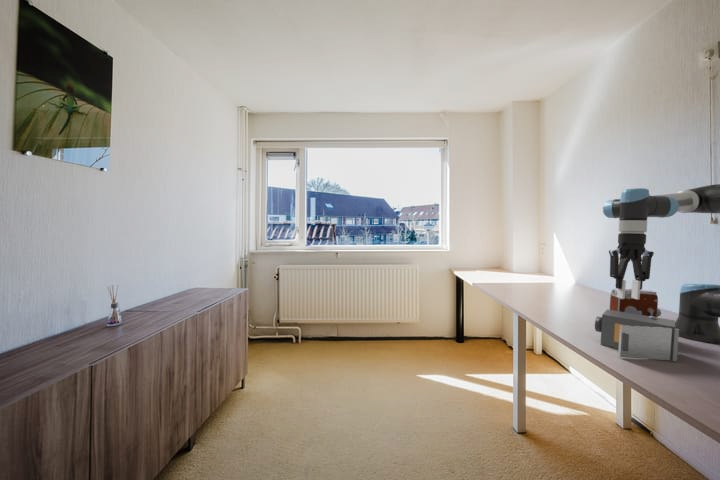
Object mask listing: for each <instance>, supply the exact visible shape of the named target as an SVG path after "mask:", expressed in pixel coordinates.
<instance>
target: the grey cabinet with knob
mask: <svg viewBox="0 0 720 480" xmlns="http://www.w3.org/2000/svg"><path fill="white" fill-rule="evenodd" d="M675 322H676V320H674V319H669V318H664V317H663V318H662V317H654V316H645V315H639V314H632V313H626V312H620V311H614V310H610V309H606V310H605V311H604V312H603V313H602V316H596V318H595V320H594V330H595V332H597V333H601V335H600V345H601V346H605V347H608V348H612V349H613V348H614V349H616V350H617V349H619V333H620V325H626V326H645V327H665V328H672V336H671V351H670V360H668V361H670V362H677V361H678V350H679V348H678V347H679V337H680V336H679V329H675Z"/></svg>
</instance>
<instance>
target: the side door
mask: <svg viewBox="0 0 720 480" xmlns="http://www.w3.org/2000/svg"><path fill="white" fill-rule="evenodd" d="M671 336H672V328H665V327H645V326H626V325H620V333H619V349H618V350H617V351H618V352H617V353H618V354H617V356H618V358H619V357H620V358H626V359H627V358H628V359H644V360H645V359H646V360H661V361H669V360H670V351H671Z"/></svg>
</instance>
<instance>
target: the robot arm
mask: <svg viewBox="0 0 720 480" xmlns="http://www.w3.org/2000/svg"><path fill="white" fill-rule="evenodd" d="M602 212H603V215H604V216H605V217H606V218H608V219H618V220H619V221H618V232H620V233H618V234H617V236H618V237H617V243H618V246H617V247H616V248H615V249H610V250H608V254H609V260H610V261H609V277H610V278H613V279H615V289H617V297H618V298H622V299H625V289H626V283H627V281H626V280H625V279H624V278H625V275H626V271H627V269H628V264H629V262H630V261H631V263H632V269H633V275H634V279H632V281H631V289H632V294H631V298H634V299H639V298H640V290H643V282H646V280H649V279H650V276H651V275H650V274H651V266H652V258H653V256H654V251H650V250H647V249H646V247H645V245H646V244H647V235H646V233H647V232H648V231H647V230H648V218H662V219H663V218H670V217H673V216H674V215H676V214H677V212H678V213H682V214H688V213H692V214H695V213H697V214H720V183H719V184H710V185H709V184H708V185H705V186H700V187H695V188H690V189H683V190H679V191H677V192H675V193H666V194H656V195H655V194H654V195H651V194H650V191H649V189H648V188H642V187H641V188H627V189H626V188H625V189H623V190H622V191H621V194H620V198H614V199H611V200H610V199H609V200H607V201H606V202H604V204H603V205H602ZM678 305H679V306H678V317H677V318H676V320H675V329H679V337H681V338H685V339H688V340H693V341H697V342H703V343H704V342H705V343H710V344H712V343H713V344H720V324H719V318H720V284H712V283H683V284H682V285H681V287H680V291H679V304H678Z"/></svg>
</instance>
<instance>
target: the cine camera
mask: <svg viewBox="0 0 720 480" xmlns="http://www.w3.org/2000/svg"><path fill="white" fill-rule="evenodd" d="M631 294H632V288H629V289H628V288H625V299H622V298H618V297H617V288H613V289H611V291H610V297H609V310H614V311H620V312H626V313H632V314H639V315H645V316H654V317H657V318H659V317H660V316H661V315H662V310H661V309H660V308H658V305H659V297H658V294H657V291H652V290H645V289H642V290H640V298H639V299H634V298H631Z"/></svg>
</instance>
